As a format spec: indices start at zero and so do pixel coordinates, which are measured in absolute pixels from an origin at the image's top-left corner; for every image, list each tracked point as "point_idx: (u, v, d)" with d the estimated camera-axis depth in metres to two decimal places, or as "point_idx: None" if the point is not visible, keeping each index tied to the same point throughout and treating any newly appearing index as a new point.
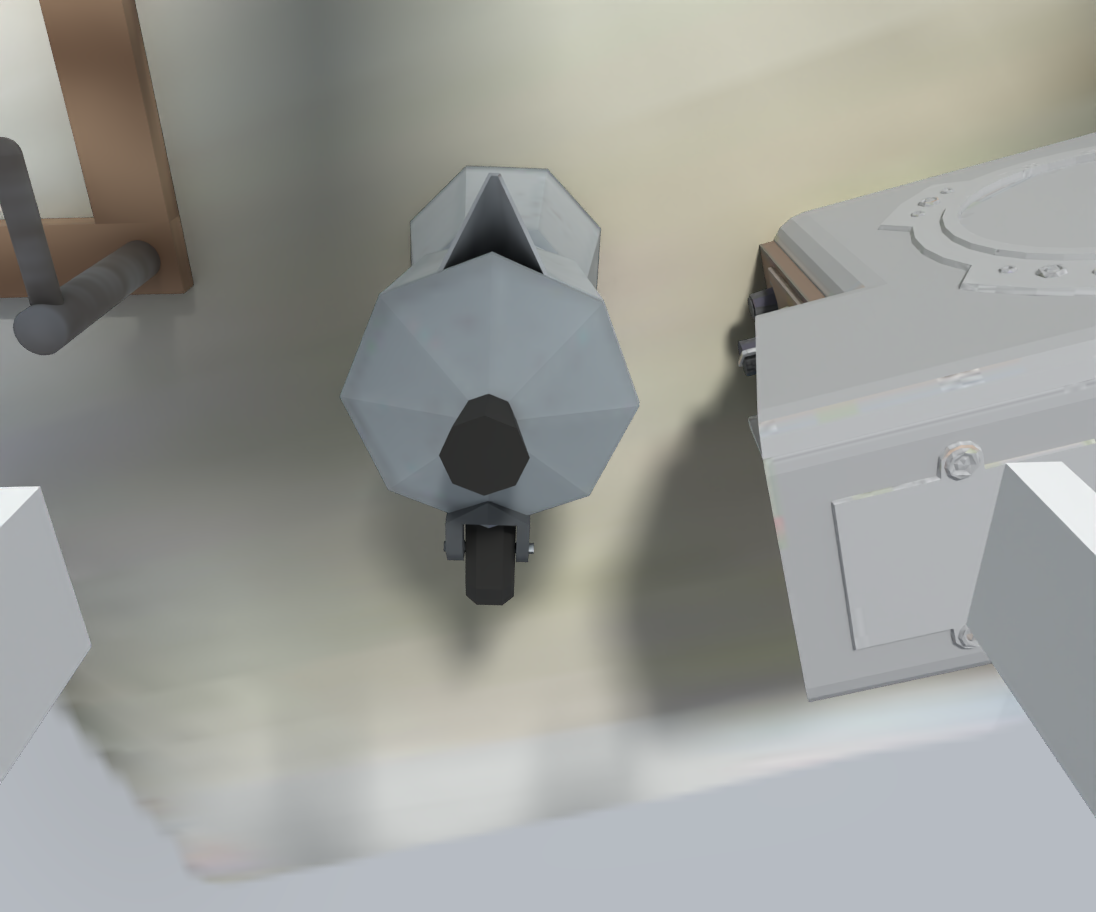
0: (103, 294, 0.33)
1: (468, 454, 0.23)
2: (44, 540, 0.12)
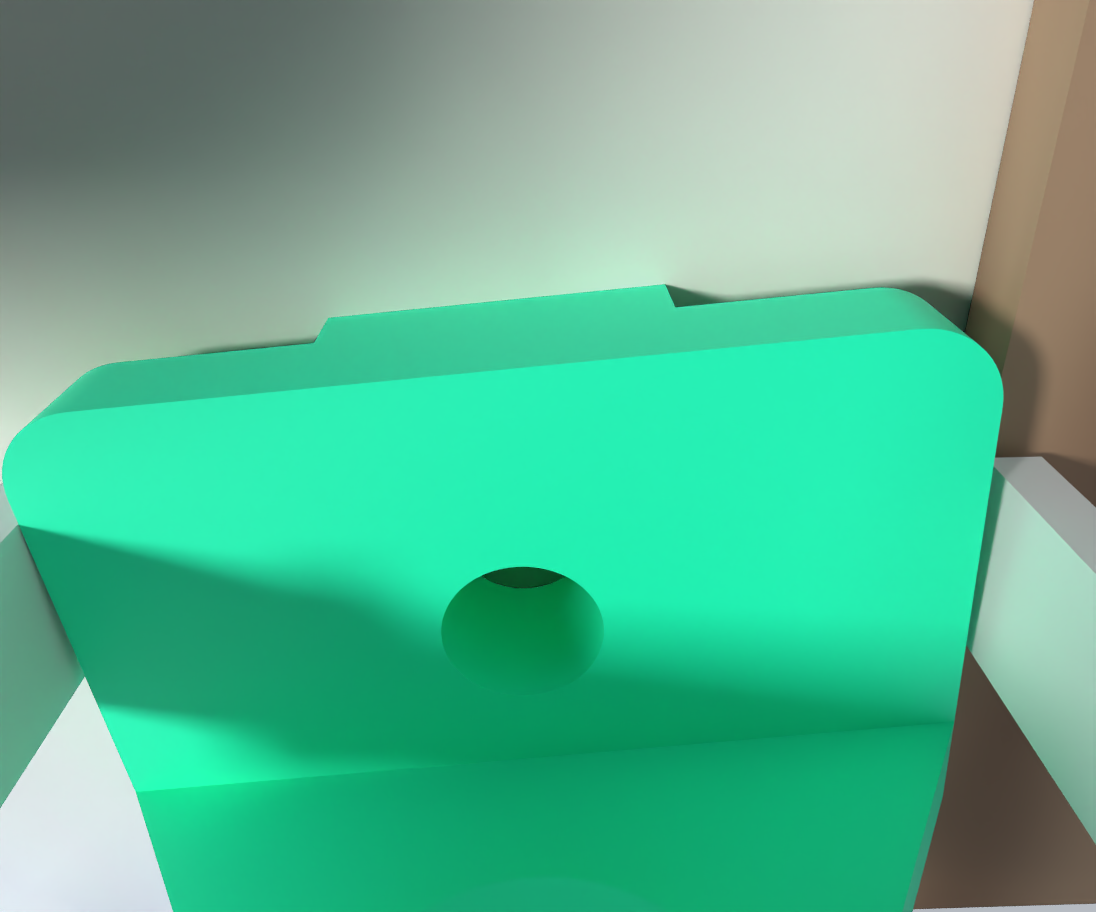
0: None
1: None
2: None
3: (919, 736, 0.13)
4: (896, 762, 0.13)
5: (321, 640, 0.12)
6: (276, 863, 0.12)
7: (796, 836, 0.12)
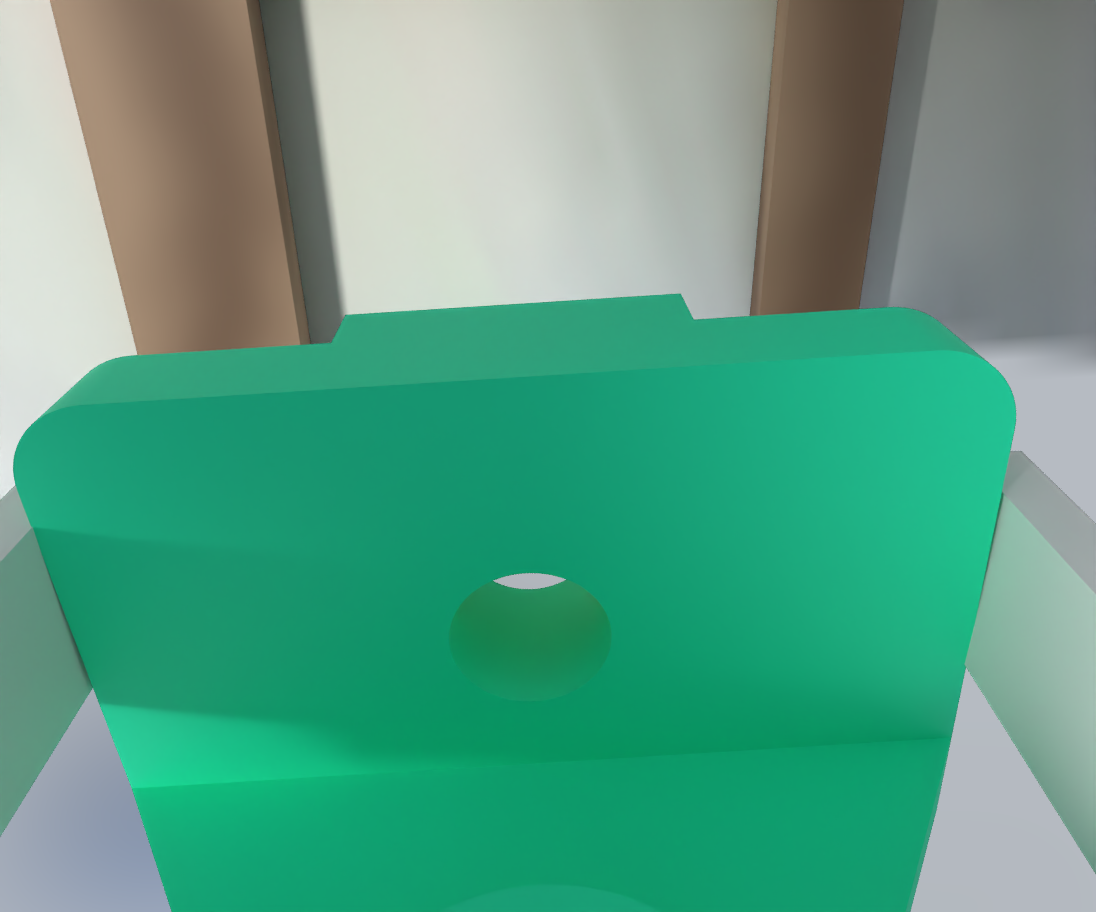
0: None
1: None
2: None
3: (917, 751, 0.13)
4: (894, 776, 0.13)
5: (328, 641, 0.12)
6: (276, 864, 0.12)
7: (796, 847, 0.12)
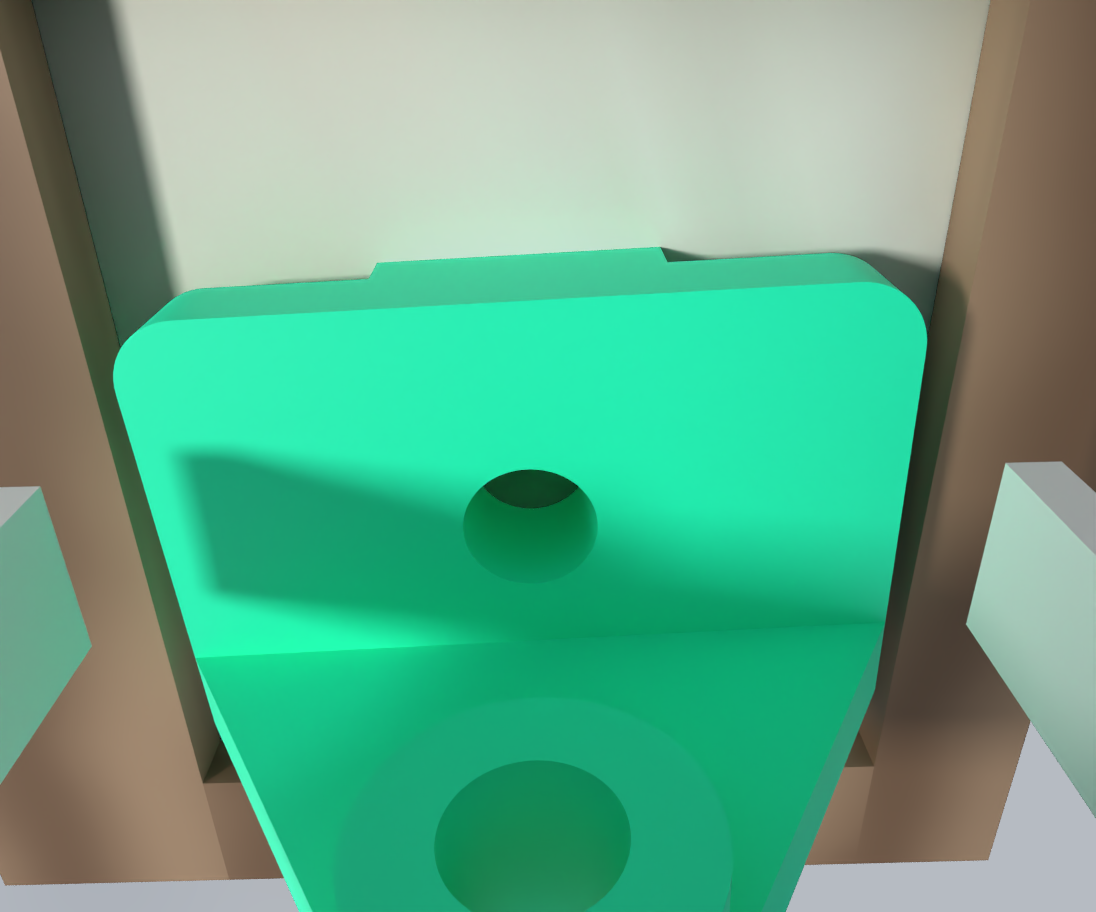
0: None
1: None
2: (44, 540, 0.12)
3: (855, 631, 0.15)
4: (834, 649, 0.15)
5: (363, 527, 0.15)
6: (318, 710, 0.14)
7: (748, 699, 0.14)
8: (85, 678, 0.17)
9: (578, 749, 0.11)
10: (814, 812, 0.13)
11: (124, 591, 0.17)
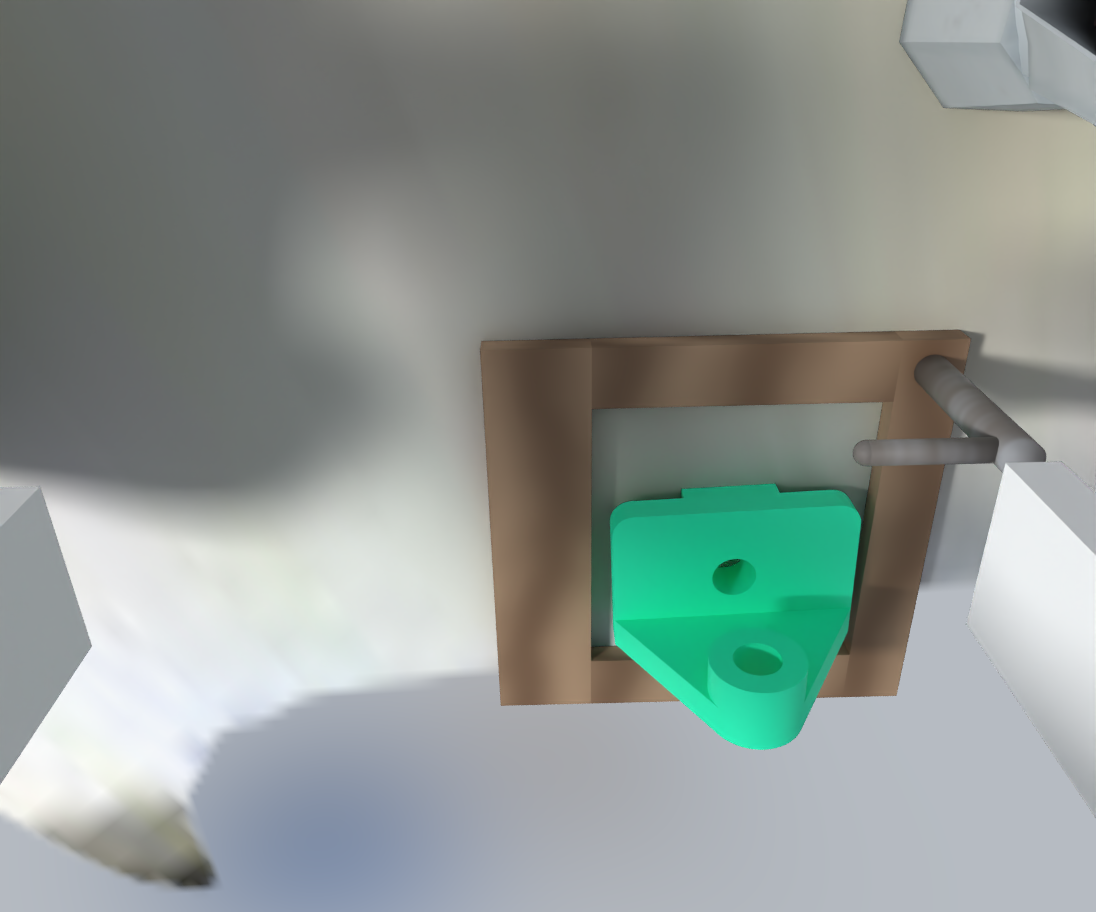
0: (982, 405, 0.36)
1: None
2: (44, 540, 0.12)
3: (840, 610, 0.46)
4: (833, 616, 0.45)
5: (680, 577, 0.45)
6: (666, 636, 0.45)
7: (806, 631, 0.45)
8: (559, 619, 0.48)
9: (764, 640, 0.42)
10: (827, 664, 0.43)
11: (582, 587, 0.47)
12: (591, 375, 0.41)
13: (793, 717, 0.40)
